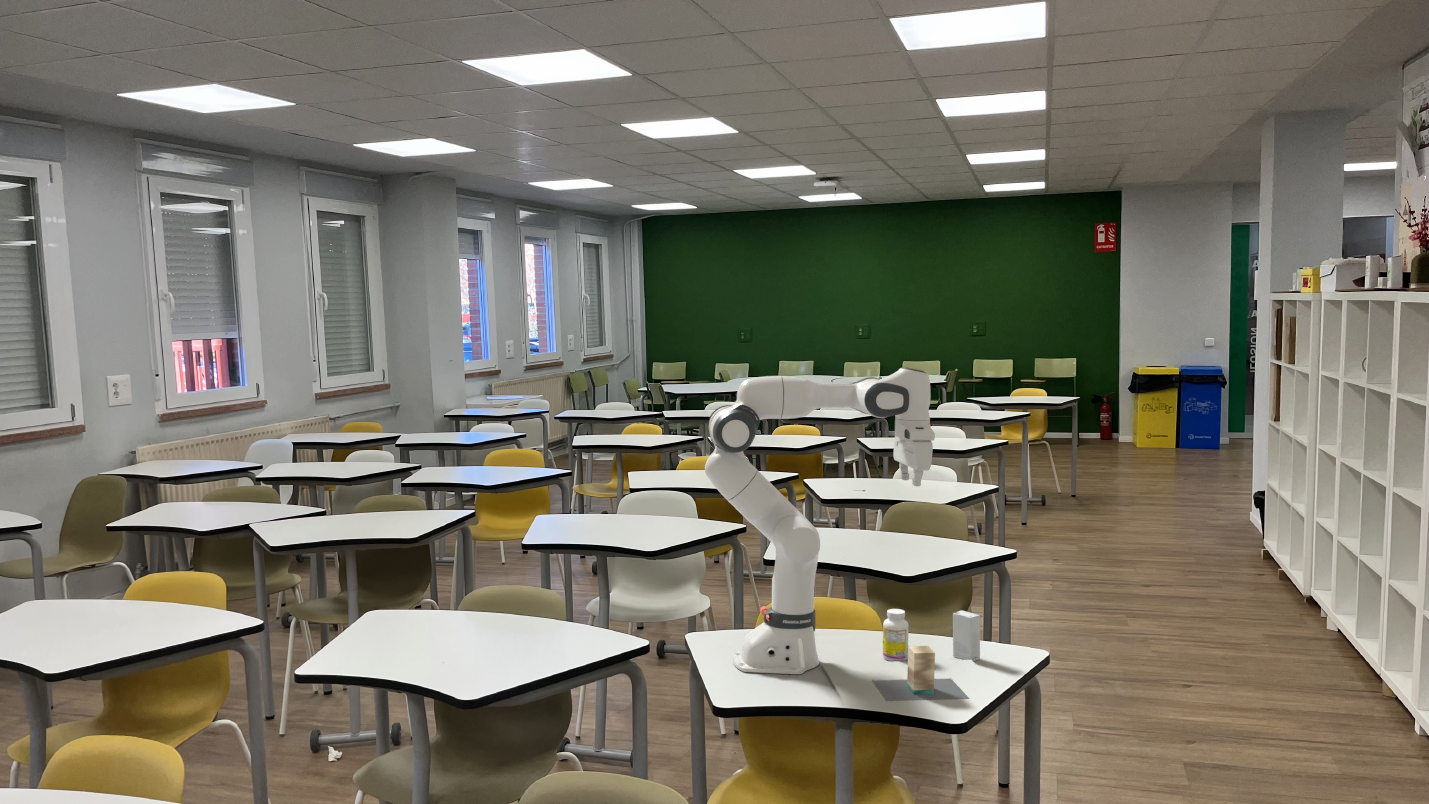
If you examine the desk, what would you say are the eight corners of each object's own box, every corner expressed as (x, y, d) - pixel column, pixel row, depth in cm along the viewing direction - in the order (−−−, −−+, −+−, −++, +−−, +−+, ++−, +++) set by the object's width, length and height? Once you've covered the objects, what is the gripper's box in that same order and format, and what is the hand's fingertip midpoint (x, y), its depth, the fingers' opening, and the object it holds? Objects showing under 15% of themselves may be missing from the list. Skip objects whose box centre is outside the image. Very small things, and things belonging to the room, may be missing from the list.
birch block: (913, 694, 229) (914, 653, 228) (907, 686, 234) (908, 646, 233) (933, 693, 230) (935, 652, 229) (927, 685, 235) (928, 645, 234)
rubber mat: (886, 705, 225) (886, 700, 225) (872, 684, 238) (872, 680, 238) (969, 702, 227) (969, 698, 227) (950, 682, 240) (950, 678, 240)
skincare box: (980, 659, 257) (982, 614, 256) (970, 663, 254) (971, 617, 253) (961, 653, 261) (962, 609, 261) (951, 656, 259) (952, 612, 258)
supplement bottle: (889, 652, 262) (890, 605, 260) (911, 657, 258) (913, 610, 257) (878, 659, 256) (879, 611, 255) (901, 664, 252) (902, 616, 251)
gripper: (888, 425, 261) (886, 476, 262) (912, 434, 240) (911, 489, 242) (911, 425, 261) (909, 476, 263) (937, 434, 241) (935, 489, 242)
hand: (910, 482), depth 252 cm, fingers open, 8 cm apart
